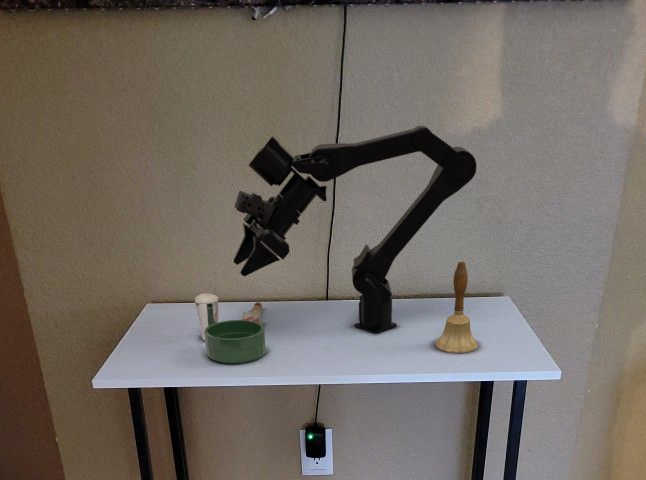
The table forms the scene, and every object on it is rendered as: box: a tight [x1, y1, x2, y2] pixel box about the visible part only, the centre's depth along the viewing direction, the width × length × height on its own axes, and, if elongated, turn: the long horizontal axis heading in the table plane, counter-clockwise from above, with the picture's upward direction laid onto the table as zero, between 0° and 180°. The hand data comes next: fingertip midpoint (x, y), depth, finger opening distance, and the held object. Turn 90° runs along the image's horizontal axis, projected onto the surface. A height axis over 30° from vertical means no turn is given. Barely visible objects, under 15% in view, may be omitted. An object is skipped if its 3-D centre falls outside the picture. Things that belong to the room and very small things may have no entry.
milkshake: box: [194, 285, 219, 342], centre depth 149 cm, size 4×5×10 cm
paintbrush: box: [241, 301, 264, 325], centre depth 158 cm, size 4×3×20 cm
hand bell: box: [434, 261, 479, 354], centre depth 141 cm, size 8×8×16 cm
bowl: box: [204, 319, 267, 365], centre depth 143 cm, size 11×11×5 cm
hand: (238, 268), depth 146 cm, fingers open, 9 cm apart
